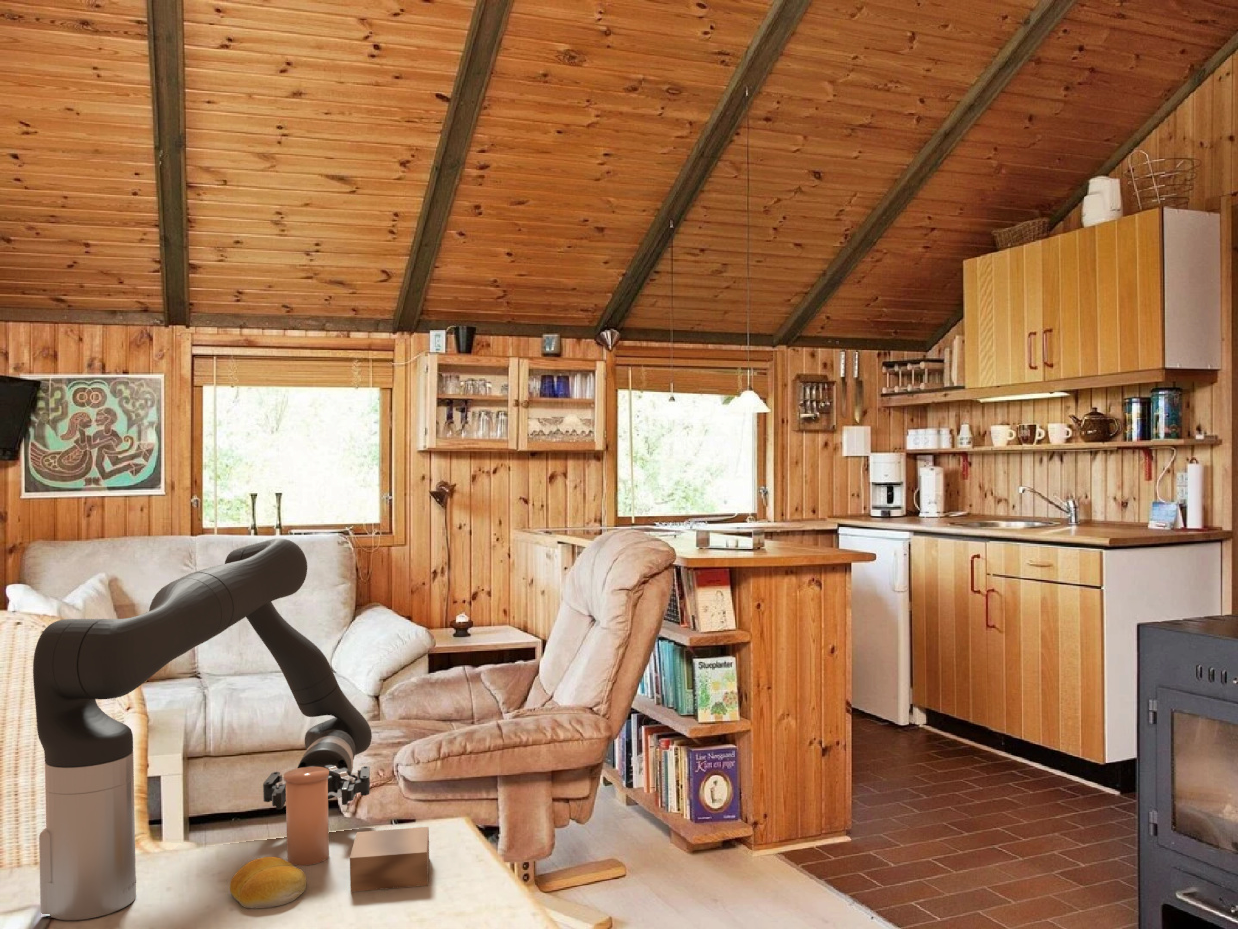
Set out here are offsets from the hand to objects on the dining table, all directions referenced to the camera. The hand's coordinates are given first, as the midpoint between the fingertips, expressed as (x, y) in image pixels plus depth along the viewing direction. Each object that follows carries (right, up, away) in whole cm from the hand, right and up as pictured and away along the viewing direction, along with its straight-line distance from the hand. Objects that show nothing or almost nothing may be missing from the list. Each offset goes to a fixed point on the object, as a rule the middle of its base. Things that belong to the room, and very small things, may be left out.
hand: (311, 799), depth 140 cm
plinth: (+13, -6, -11) cm, 18 cm away
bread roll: (0, -6, -16) cm, 17 cm away
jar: (+1, -6, -5) cm, 8 cm away
